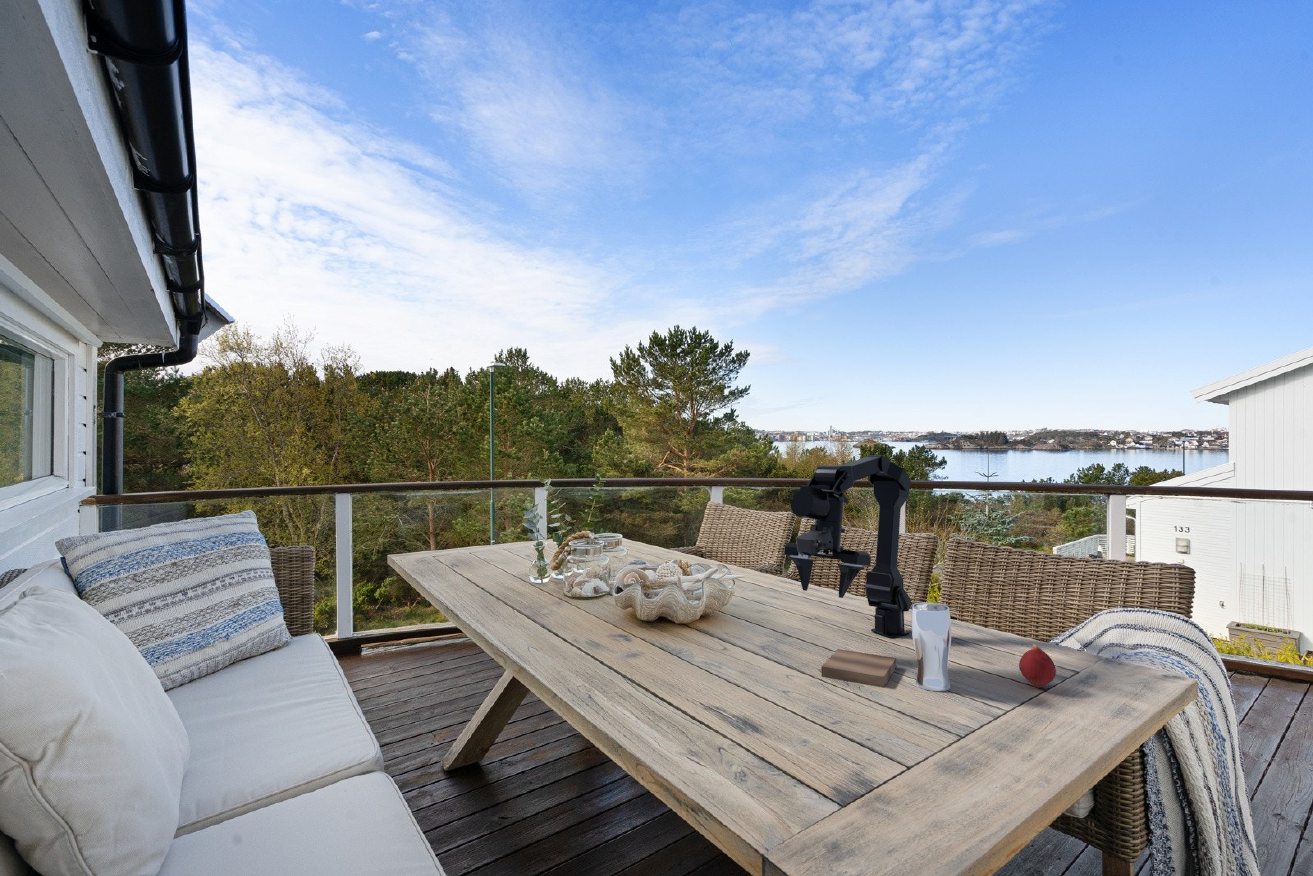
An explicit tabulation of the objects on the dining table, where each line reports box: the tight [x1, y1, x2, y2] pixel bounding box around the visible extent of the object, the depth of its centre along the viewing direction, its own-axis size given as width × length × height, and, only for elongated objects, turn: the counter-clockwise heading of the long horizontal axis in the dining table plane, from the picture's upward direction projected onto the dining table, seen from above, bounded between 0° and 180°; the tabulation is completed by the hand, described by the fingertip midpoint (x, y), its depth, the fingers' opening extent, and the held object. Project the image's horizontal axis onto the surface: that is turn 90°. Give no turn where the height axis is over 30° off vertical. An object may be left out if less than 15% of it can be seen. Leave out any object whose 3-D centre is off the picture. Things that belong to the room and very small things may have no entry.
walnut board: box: [821, 648, 897, 688], centre depth 126 cm, size 12×12×2 cm
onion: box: [1018, 644, 1057, 689], centre depth 116 cm, size 6×6×8 cm
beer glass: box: [911, 602, 952, 692], centre depth 119 cm, size 7×7×15 cm
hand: (822, 594), depth 134 cm, fingers open, 9 cm apart
